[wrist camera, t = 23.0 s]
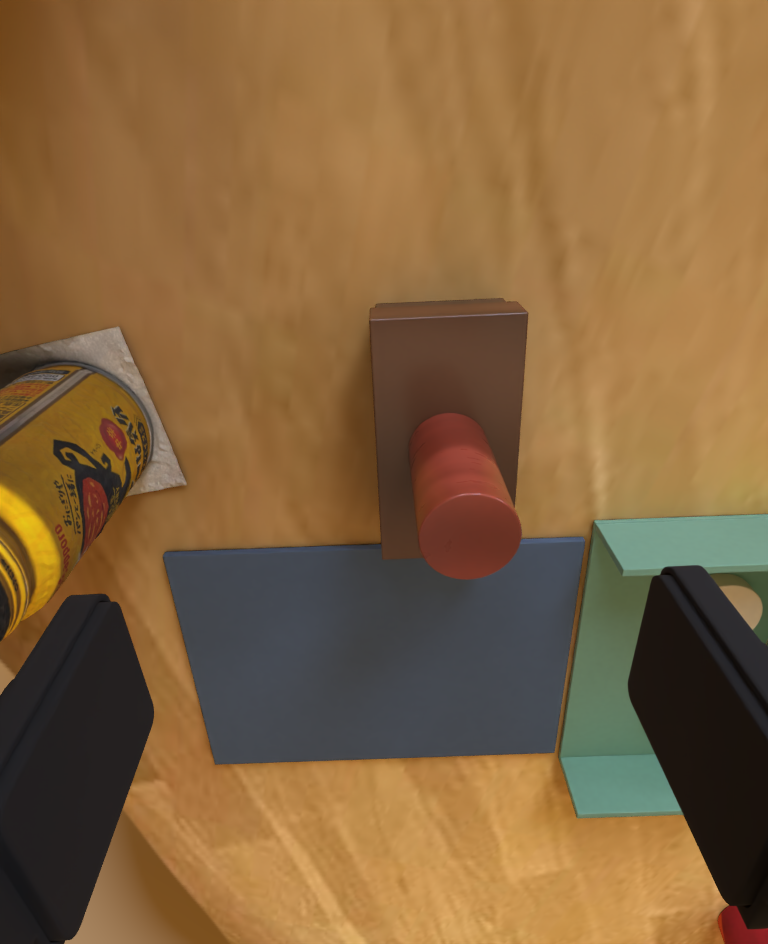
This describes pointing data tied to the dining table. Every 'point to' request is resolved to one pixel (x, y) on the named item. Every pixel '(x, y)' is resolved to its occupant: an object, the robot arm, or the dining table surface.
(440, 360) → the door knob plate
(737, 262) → the dining table surface
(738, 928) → the paper cup
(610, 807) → the dustpan
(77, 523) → the condiment
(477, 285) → the dining table surface
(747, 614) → the crumb
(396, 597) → the scrub mat
